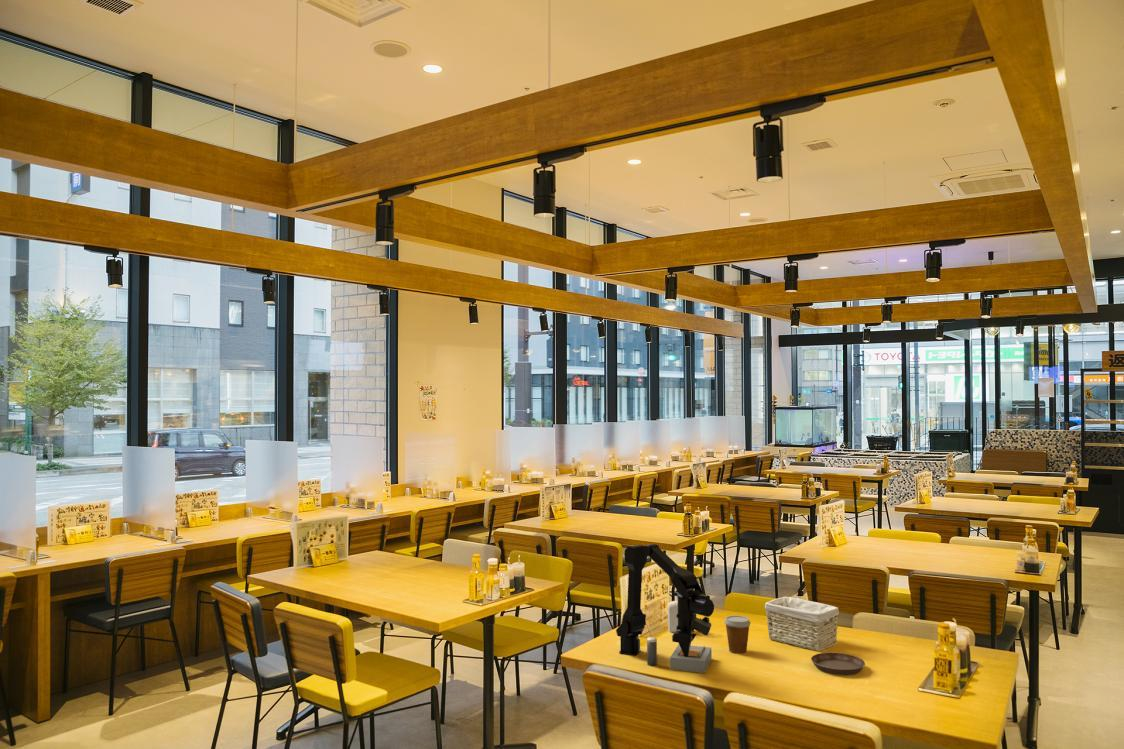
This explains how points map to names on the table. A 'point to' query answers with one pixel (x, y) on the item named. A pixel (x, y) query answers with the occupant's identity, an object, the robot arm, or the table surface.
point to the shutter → (691, 652)
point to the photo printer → (672, 616)
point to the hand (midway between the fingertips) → (686, 656)
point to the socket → (691, 660)
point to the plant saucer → (838, 663)
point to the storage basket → (802, 623)
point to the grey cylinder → (651, 651)
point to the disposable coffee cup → (737, 633)
